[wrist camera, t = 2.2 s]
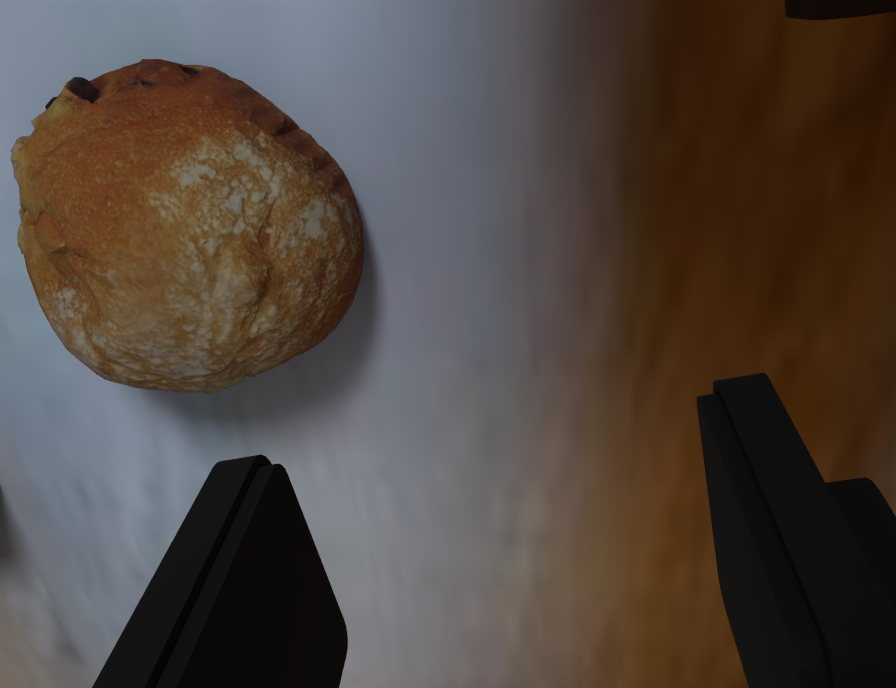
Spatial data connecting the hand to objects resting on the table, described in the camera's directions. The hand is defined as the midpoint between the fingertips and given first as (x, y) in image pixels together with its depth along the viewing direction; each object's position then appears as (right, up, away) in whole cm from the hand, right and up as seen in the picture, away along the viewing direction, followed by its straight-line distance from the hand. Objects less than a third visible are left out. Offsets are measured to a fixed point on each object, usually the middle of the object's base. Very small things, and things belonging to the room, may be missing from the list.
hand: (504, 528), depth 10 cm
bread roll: (-9, +7, +17) cm, 20 cm away
